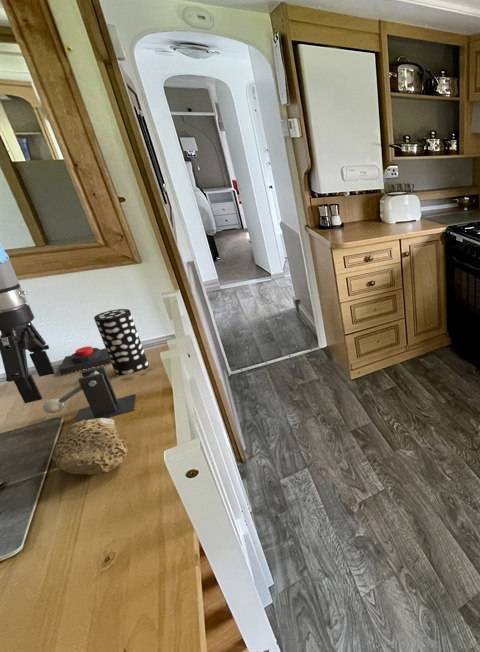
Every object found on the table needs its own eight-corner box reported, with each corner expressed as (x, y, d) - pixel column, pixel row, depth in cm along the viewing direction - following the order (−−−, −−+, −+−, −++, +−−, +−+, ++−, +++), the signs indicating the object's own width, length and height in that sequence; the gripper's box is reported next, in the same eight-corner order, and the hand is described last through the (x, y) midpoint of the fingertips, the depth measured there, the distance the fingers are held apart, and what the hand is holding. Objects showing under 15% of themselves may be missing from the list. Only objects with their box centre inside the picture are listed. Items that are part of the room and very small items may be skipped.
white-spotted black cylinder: (109, 374, 120) (87, 317, 113) (137, 361, 128) (118, 307, 120) (127, 379, 118) (105, 321, 111) (155, 366, 125) (136, 311, 118)
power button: (76, 358, 123) (74, 353, 122) (78, 353, 125) (76, 348, 125) (92, 354, 125) (91, 349, 124) (94, 349, 128) (92, 345, 127)
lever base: (74, 430, 96) (55, 388, 91) (80, 412, 103) (62, 372, 98) (135, 413, 103) (120, 373, 98) (137, 397, 109) (123, 358, 105)
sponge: (64, 451, 91) (36, 493, 75) (62, 420, 90) (34, 456, 74) (136, 438, 99) (125, 474, 83) (135, 409, 98) (123, 440, 82)
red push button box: (61, 375, 119) (56, 364, 118) (67, 362, 127) (63, 352, 125) (111, 364, 126) (107, 353, 125) (114, 352, 134) (110, 342, 132)
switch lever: (51, 418, 95) (36, 410, 92) (54, 411, 97) (40, 403, 95) (104, 382, 99) (91, 373, 97) (106, 376, 101) (93, 367, 99)
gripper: (11, 323, 78) (51, 407, 86) (41, 289, 97) (71, 361, 104) (-45, 332, 74) (2, 419, 82) (-3, 295, 92) (32, 369, 100)
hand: (41, 387), depth 93 cm, fingers open, 13 cm apart
